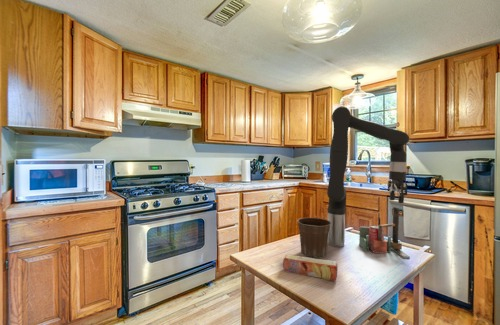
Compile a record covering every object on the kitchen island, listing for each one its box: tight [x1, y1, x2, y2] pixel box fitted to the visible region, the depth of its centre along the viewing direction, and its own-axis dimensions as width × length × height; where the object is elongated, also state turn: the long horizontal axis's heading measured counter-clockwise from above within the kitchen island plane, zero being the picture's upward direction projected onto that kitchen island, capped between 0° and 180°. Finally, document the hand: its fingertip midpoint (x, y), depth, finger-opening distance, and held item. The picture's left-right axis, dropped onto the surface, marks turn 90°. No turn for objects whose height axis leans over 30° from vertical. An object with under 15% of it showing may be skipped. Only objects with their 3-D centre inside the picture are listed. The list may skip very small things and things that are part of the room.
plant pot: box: [296, 217, 331, 259], centre depth 117 cm, size 16×16×16 cm
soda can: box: [368, 224, 385, 251], centre depth 123 cm, size 7×7×12 cm
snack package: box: [282, 253, 338, 282], centre depth 96 cm, size 21×7×7 cm, turn 68°
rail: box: [391, 248, 411, 259], centre depth 120 cm, size 3×15×1 cm, turn 175°
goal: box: [358, 226, 392, 254], centre depth 125 cm, size 12×10×10 cm
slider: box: [372, 206, 403, 254], centre depth 122 cm, size 15×8×22 cm, turn 85°
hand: (396, 201), depth 123 cm, fingers open, 8 cm apart
